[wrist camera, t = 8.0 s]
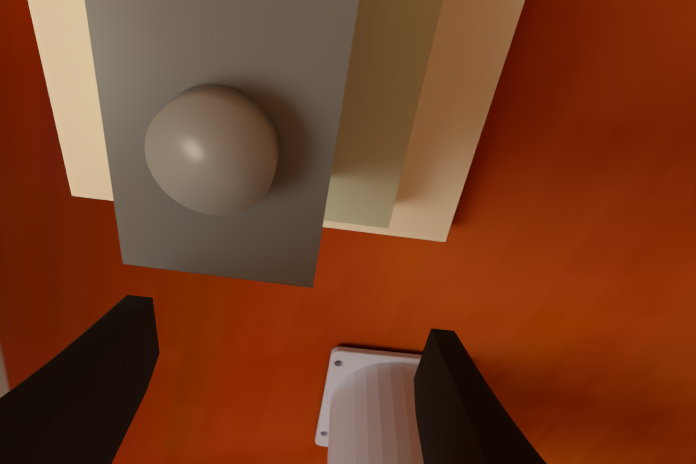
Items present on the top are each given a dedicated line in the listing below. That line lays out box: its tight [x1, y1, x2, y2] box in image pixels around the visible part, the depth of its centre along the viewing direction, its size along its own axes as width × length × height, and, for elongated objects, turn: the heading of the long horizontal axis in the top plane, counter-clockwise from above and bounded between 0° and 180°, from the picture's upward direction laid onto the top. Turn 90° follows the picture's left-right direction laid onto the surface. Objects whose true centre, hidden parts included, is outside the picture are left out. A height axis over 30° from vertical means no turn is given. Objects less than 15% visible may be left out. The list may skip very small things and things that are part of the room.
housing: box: [85, 0, 359, 288], centre depth 11 cm, size 5×7×7 cm, turn 170°
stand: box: [28, 0, 525, 242], centre depth 16 cm, size 13×16×3 cm
